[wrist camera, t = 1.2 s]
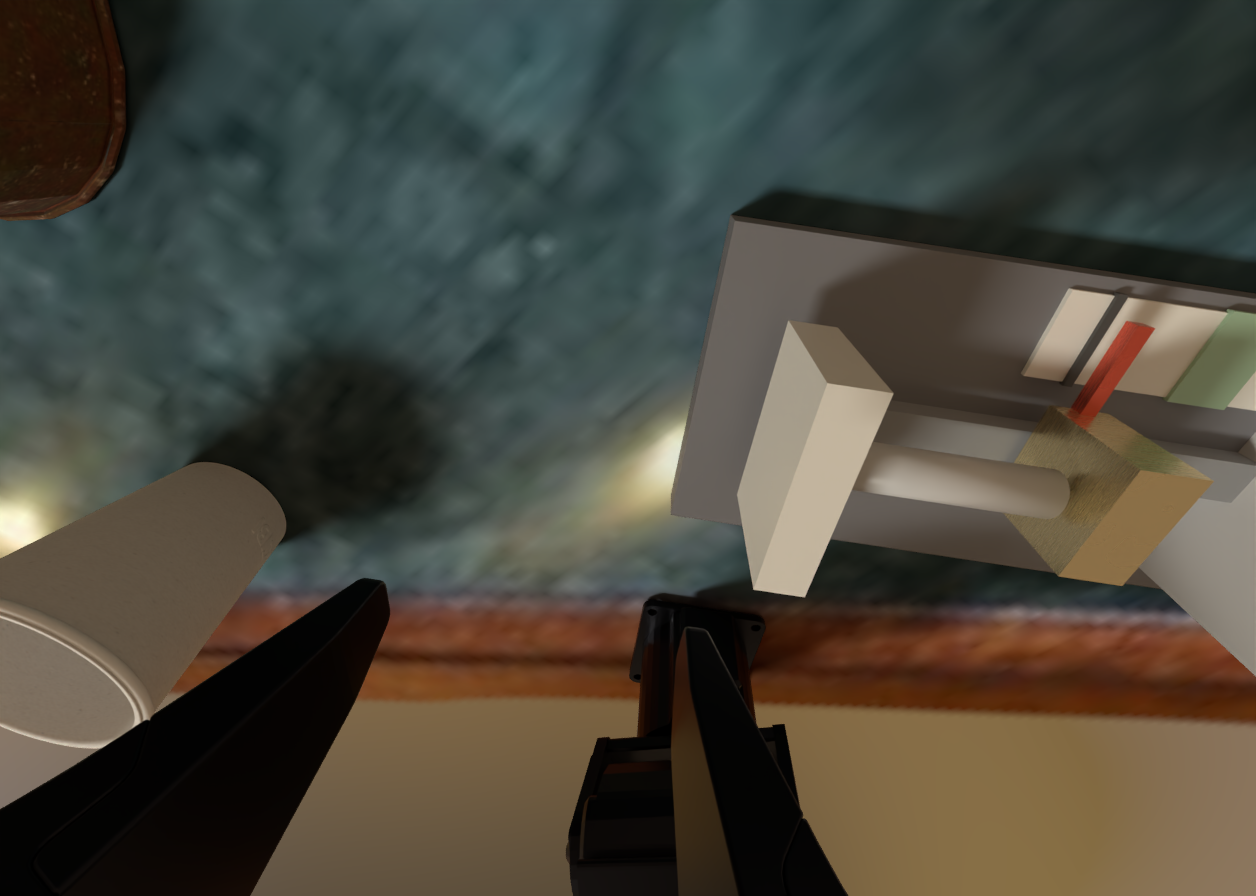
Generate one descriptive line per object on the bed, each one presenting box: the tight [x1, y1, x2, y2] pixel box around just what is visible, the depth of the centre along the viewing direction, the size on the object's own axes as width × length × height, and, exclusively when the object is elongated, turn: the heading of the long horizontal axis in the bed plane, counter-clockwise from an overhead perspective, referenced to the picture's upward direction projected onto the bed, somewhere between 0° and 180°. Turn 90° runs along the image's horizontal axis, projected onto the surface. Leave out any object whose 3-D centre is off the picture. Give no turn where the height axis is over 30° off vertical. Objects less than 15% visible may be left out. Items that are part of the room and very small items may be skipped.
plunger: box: [737, 320, 1070, 597], centre depth 16 cm, size 7×9×5 cm
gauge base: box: [671, 215, 1256, 676], centre depth 17 cm, size 12×24×8 cm, turn 83°
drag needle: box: [1004, 321, 1214, 586], centre depth 16 cm, size 7×2×4 cm, turn 173°
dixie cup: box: [0, 462, 286, 748], centre depth 22 cm, size 8×8×10 cm
